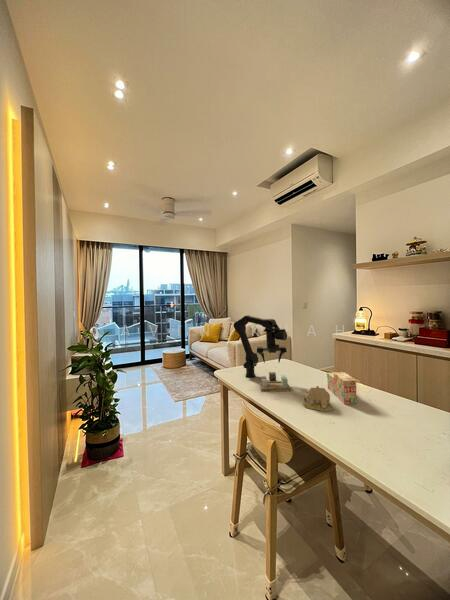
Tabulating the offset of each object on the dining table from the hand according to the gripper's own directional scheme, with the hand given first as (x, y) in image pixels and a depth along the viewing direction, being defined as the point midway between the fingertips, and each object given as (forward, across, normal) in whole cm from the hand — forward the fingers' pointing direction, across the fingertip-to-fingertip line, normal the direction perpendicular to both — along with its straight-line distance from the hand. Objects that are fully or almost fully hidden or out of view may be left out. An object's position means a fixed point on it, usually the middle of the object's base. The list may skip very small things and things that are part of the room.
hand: (271, 362), depth 161 cm
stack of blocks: (+12, +34, -23) cm, 43 cm away
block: (+12, 0, 0) cm, 12 cm away
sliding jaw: (+10, +6, -11) cm, 16 cm away
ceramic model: (+12, +19, -36) cm, 42 cm away
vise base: (+12, 0, -11) cm, 16 cm away
